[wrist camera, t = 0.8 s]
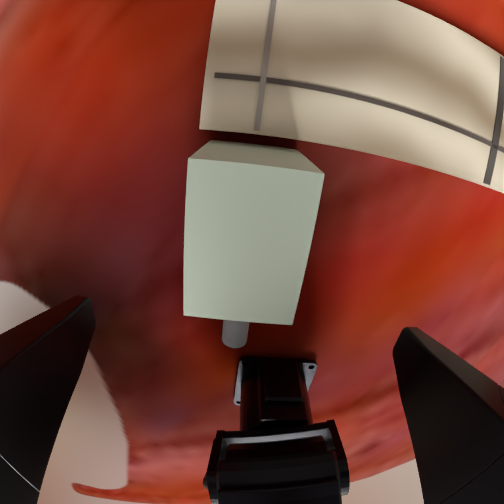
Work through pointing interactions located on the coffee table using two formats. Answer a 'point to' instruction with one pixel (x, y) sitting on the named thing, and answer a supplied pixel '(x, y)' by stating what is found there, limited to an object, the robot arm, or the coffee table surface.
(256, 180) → the block
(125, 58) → the coffee table surface
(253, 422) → the robot arm
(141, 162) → the coffee table surface
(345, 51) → the birch board
